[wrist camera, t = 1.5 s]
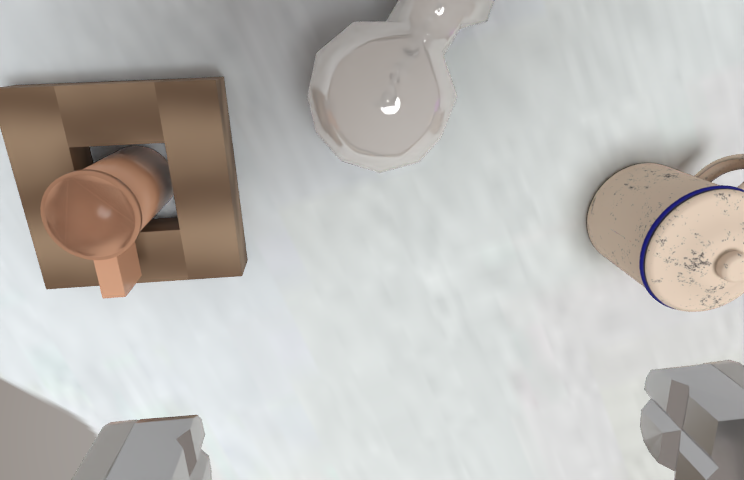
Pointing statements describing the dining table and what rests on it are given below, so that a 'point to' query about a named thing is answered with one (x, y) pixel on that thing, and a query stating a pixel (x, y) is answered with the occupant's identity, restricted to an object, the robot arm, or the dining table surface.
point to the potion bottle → (390, 83)
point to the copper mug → (108, 212)
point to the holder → (124, 127)
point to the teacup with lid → (674, 232)
